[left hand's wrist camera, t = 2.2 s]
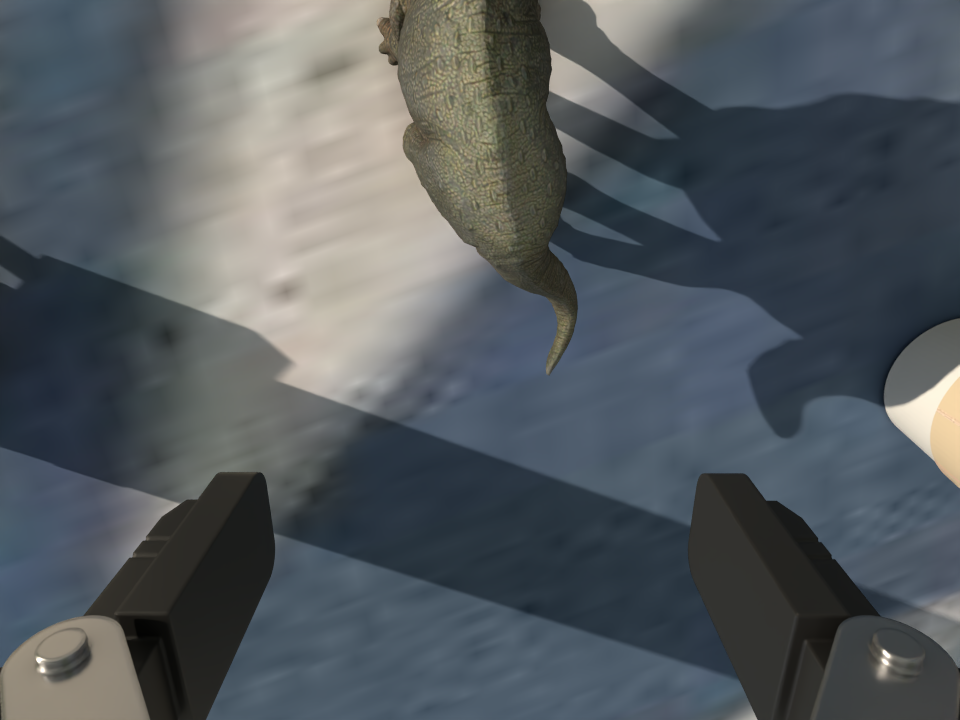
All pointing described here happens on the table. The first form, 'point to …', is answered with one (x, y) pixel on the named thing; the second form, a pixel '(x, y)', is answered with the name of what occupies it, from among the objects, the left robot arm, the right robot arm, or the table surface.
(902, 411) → the coffee cup
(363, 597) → the table surface
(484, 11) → the toy dinosaur
